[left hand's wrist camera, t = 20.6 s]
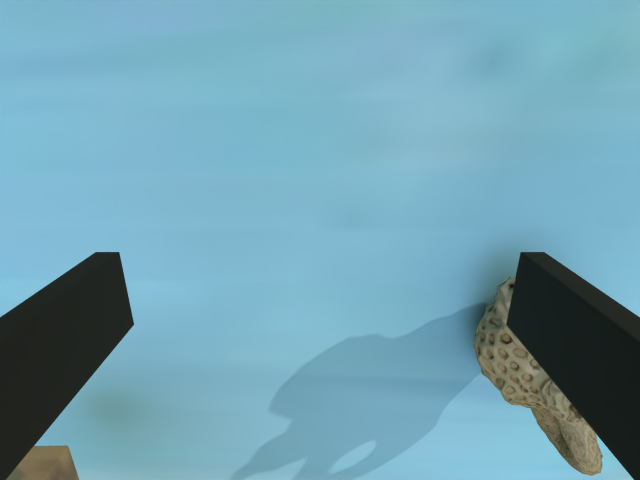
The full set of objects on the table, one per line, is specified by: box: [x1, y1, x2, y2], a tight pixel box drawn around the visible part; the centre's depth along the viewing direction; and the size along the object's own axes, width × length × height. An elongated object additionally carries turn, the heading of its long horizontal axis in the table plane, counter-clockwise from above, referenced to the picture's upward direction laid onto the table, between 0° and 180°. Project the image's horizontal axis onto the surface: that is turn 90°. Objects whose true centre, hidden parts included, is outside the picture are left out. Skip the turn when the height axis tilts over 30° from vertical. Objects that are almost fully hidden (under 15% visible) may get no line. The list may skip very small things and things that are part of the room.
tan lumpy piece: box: [474, 277, 603, 476], centre depth 38 cm, size 21×12×15 cm, turn 24°
